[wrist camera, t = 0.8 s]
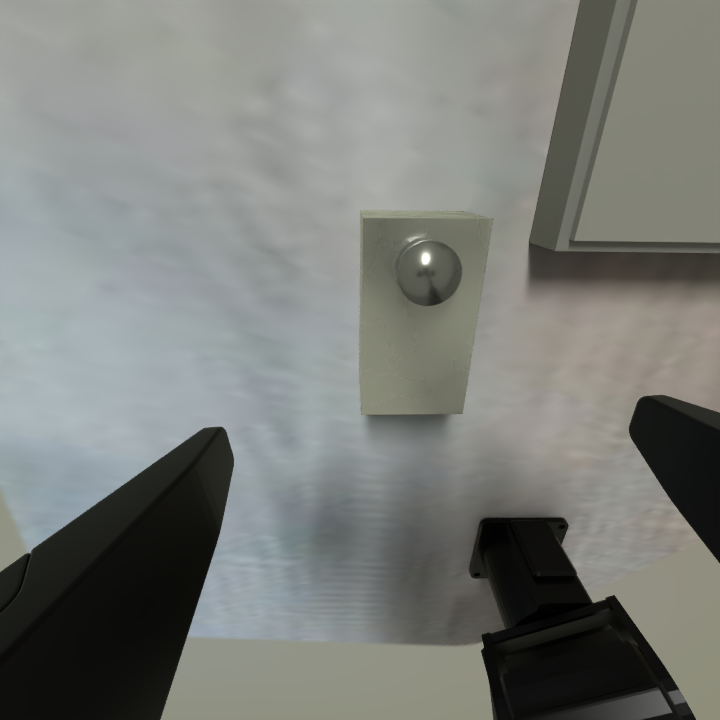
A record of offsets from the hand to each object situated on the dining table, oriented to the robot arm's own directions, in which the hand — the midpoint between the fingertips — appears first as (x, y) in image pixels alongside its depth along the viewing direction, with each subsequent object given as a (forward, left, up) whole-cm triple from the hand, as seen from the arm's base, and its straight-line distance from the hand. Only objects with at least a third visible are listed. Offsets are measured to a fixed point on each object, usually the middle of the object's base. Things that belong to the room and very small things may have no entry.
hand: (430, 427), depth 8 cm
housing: (-1, -1, -13) cm, 13 cm away
